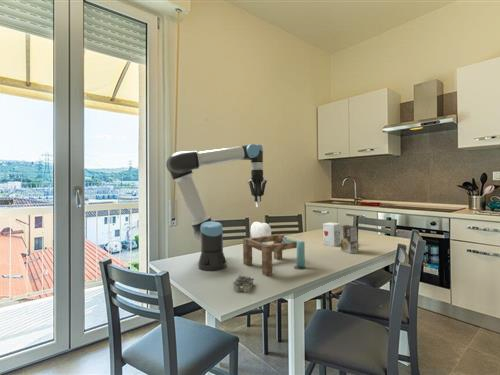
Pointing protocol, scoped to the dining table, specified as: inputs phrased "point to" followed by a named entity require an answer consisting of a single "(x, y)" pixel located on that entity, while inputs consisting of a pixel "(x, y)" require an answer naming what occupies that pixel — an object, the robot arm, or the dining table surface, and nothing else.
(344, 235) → the coffee box
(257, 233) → the decorative heart
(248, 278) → the grey knobbly lump
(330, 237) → the supplement box
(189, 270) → the dining table surface
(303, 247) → the folding leg
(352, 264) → the dining table surface
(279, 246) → the stool frame
